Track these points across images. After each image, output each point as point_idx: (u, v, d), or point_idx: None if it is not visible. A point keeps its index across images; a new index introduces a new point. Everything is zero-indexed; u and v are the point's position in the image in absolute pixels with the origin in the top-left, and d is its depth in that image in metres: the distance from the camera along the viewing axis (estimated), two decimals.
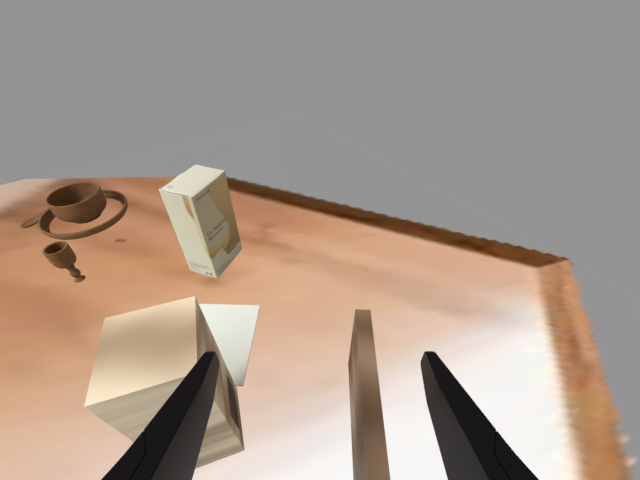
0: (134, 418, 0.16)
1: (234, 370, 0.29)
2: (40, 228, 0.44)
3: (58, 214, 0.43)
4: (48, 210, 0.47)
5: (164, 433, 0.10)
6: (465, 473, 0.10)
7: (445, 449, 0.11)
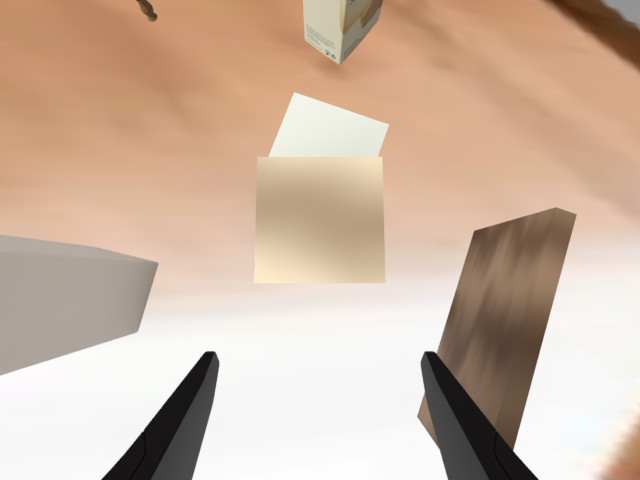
0: None
1: None
2: None
3: None
4: None
5: (164, 433, 0.10)
6: (465, 473, 0.10)
7: (445, 449, 0.11)
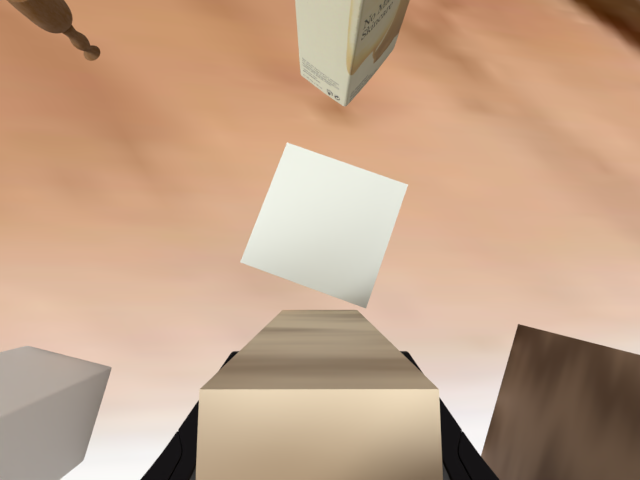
0: None
1: (356, 282, 0.20)
2: None
3: None
4: None
5: None
6: None
7: None
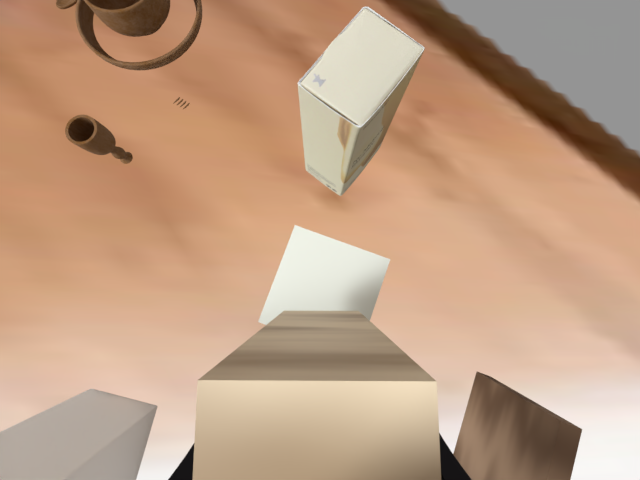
0: None
1: None
2: (79, 27, 0.28)
3: (97, 16, 0.27)
4: None
5: None
6: None
7: None
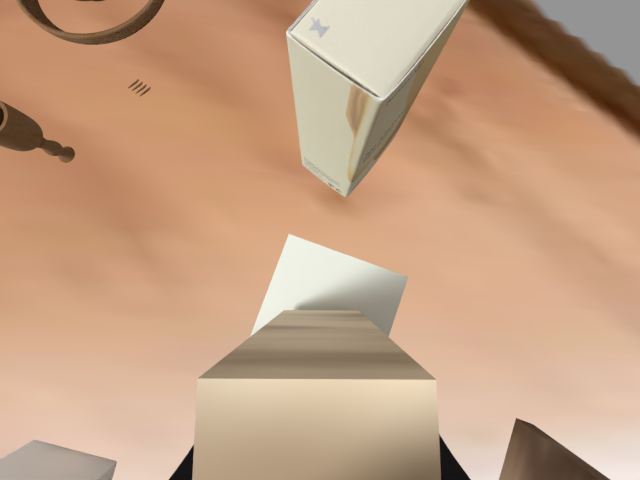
0: None
1: None
2: None
3: None
4: None
5: None
6: None
7: None
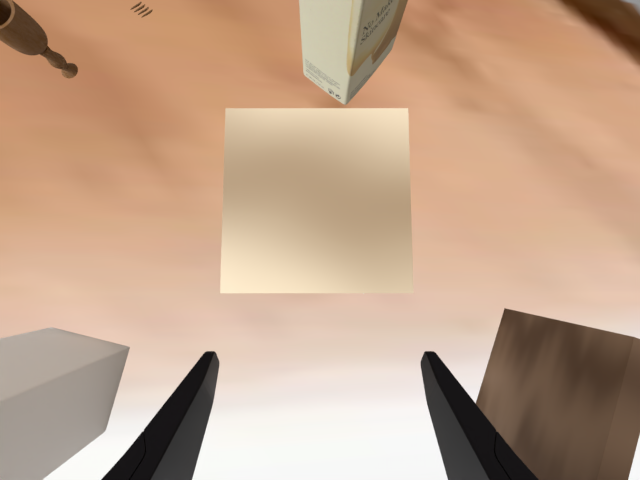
0: None
1: None
2: None
3: None
4: None
5: (164, 433, 0.10)
6: (465, 473, 0.10)
7: (445, 449, 0.11)
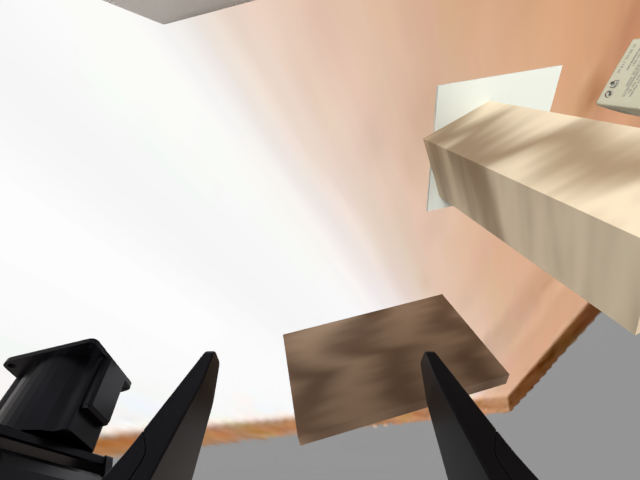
0: (574, 230, 0.12)
1: None
2: None
3: None
4: None
5: (164, 433, 0.10)
6: (465, 473, 0.10)
7: (445, 449, 0.11)
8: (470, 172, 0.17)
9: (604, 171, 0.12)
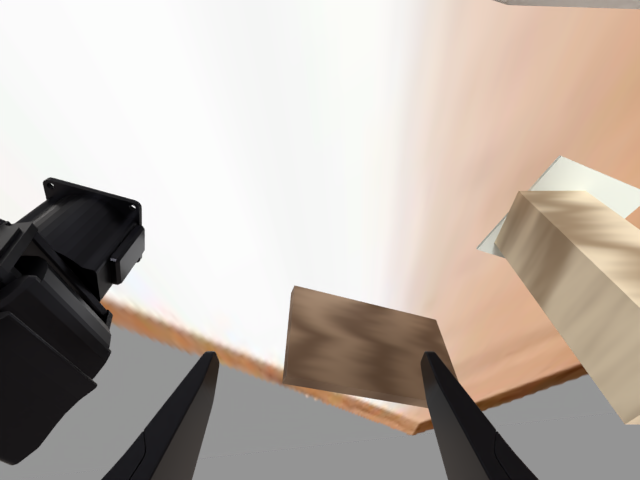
0: (632, 330, 0.14)
1: None
2: None
3: None
4: None
5: (164, 433, 0.10)
6: (465, 473, 0.10)
7: (445, 449, 0.11)
8: (553, 241, 0.19)
9: None
